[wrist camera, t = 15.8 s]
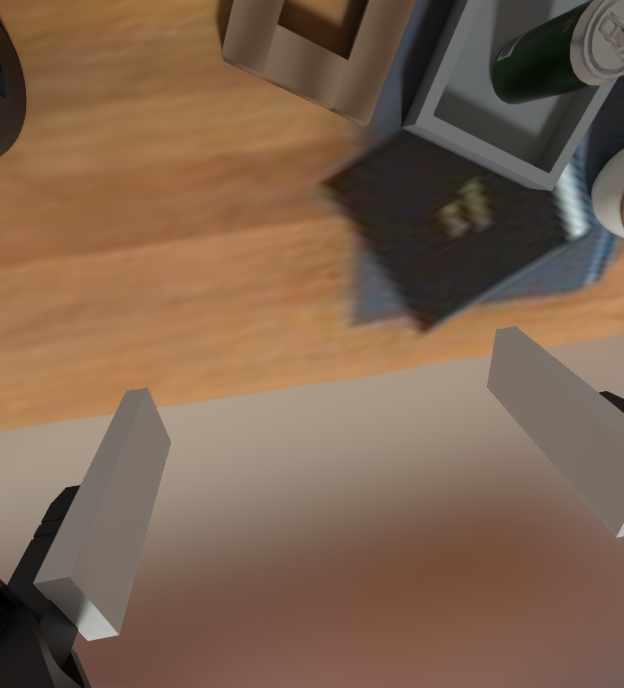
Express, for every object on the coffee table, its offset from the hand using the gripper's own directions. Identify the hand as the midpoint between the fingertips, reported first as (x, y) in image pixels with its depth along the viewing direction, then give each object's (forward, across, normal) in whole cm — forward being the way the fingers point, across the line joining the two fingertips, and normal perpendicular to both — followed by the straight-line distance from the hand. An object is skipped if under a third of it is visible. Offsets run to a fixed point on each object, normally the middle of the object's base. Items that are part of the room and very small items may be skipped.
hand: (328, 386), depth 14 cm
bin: (+31, +24, +10) cm, 40 cm away
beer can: (+30, +24, +10) cm, 40 cm away
